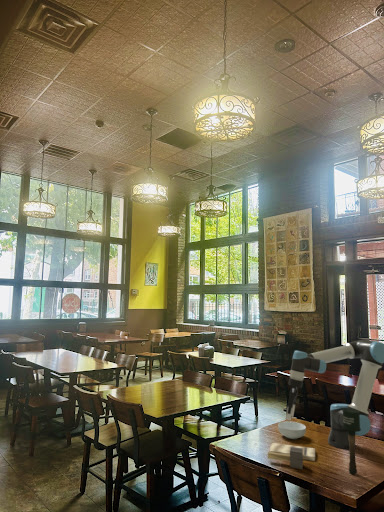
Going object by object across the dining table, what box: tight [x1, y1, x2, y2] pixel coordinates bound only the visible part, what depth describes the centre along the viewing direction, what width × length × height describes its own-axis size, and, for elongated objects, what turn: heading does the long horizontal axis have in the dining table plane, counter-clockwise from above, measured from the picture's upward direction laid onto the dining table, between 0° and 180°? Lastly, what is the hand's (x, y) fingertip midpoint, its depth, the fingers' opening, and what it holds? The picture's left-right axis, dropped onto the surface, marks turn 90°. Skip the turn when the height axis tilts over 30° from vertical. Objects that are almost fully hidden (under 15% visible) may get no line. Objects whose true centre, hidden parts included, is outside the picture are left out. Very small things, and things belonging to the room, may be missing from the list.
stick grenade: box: [342, 409, 361, 475], centre depth 190 cm, size 8×9×30 cm
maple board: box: [268, 442, 316, 462], centre depth 212 cm, size 24×13×2 cm, turn 72°
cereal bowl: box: [277, 420, 307, 440], centre depth 239 cm, size 17×17×7 cm
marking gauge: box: [267, 447, 304, 470], centre depth 198 cm, size 6×18×8 cm, turn 72°
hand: (289, 417), depth 210 cm, fingers open, 13 cm apart
